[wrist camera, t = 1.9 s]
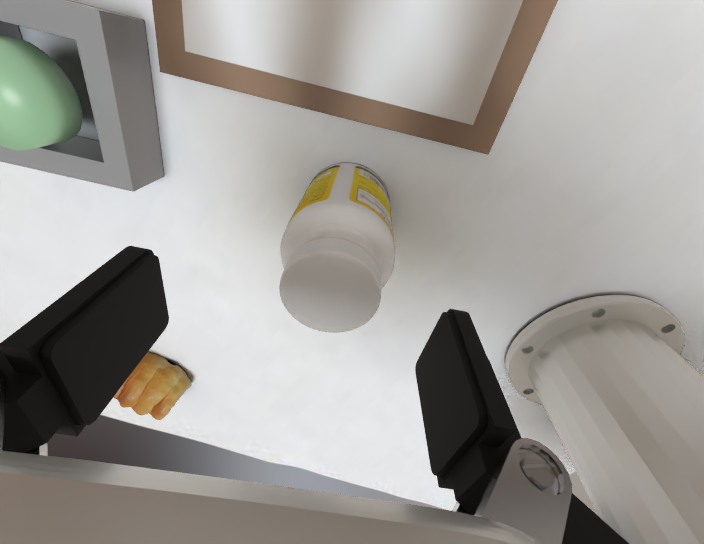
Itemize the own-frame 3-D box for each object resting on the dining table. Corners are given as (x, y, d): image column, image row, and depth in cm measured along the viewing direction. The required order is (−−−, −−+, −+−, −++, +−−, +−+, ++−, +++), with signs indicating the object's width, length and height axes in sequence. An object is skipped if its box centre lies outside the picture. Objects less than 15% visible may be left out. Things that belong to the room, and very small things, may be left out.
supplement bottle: (307, 236, 21) (264, 337, 13) (307, 156, 18) (252, 224, 10) (383, 244, 21) (388, 351, 13) (395, 165, 18) (411, 240, 10)
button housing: (144, 20, 15) (98, 10, 13) (164, 176, 20) (133, 191, 17) (-24, -24, 15) (-105, -43, 12) (35, 146, 19) (-16, 157, 17)
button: (67, 50, 14) (24, 47, 12) (92, 151, 16) (59, 160, 14) (-36, 24, 13) (-95, 17, 12) (5, 130, 16) (-39, 137, 14)
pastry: (90, 360, 31) (58, 393, 28) (108, 324, 28) (73, 356, 25) (177, 399, 34) (156, 433, 31) (201, 370, 31) (181, 404, 28)
